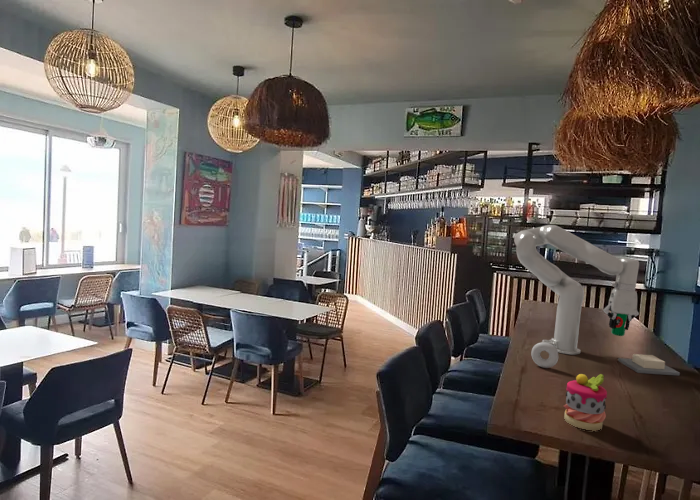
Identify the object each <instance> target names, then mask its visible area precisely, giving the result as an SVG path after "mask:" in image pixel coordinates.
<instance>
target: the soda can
mask: <svg viewBox="0 0 700 500" xmlns="http://www.w3.org/2000/svg"><path fill="white" fill-rule="evenodd" d="M627 316H628V315H627V314H617V315H616V317H615V320H616V324H615V328H614V329H612V328H611V329H610V332H611V334H612V335H613V336H616V337H624V336H625V333H626V330H625V329H626V323H627Z"/></svg>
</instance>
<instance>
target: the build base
mask: <svg viewBox="0 0 700 500" xmlns="http://www.w3.org/2000/svg"><path fill="white" fill-rule="evenodd" d="M617 361H618V362H619V363H620V364H622V365H624V366H626V367H628V368H629V369H631V370H633V371H634V372H636V373H637V374H651V375H667V376H680V374H681V373H680V372H679V371H677V370H676V369H674V368H672V367H670V366H668V365H666V361H664V360H662V359H660V358H658V357H657V356H655V355H653V354H640V353H639V354H638V353H633V354H632V358H623V357H618V358H617Z"/></svg>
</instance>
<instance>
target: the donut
mask: <svg viewBox="0 0 700 500" xmlns="http://www.w3.org/2000/svg"><path fill="white" fill-rule="evenodd" d="M530 352H531V353H530V354H531V358H532V360H533V362H534V363H535V365H537V366H539V367H541V368H545V369H548V368H553V367H554V366H556V364H557V363H558V360H559V357H560V356H559V352H557V350H556V348H555V347H554V346H553V345H551V344H549V343H547V342H542V341H541V342H538V343H536V344H534V345H533V347H532V349H531V351H530ZM542 352H546V353H547V354H548V358H543V357H542V356H541V353H542Z"/></svg>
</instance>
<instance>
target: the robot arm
mask: <svg viewBox="0 0 700 500" xmlns="http://www.w3.org/2000/svg"><path fill="white" fill-rule="evenodd" d="M513 240H514V244H515V246H516V248H515V249H516V250H515V251H516V257H517V259H518V261H519V262H520V264H521V265H522V266H524V268H525V269H527V270H528V271H529V272H530V273H531V274H533V275H534V277H535V276H536V278H537V279H538V280H539V281H540V282H541V283H542V284H544V286H546V287H547V288H548V289H550V290H551V291H552V292H554V293H555V294H556V295H558V302H557V305H556V313H555V314H556V317H555V324H554V325H555V326H554V332H553V333H554V334H553V337H551V339H542V341H541V342H547V343H549V344H551V345H553V346H554V347H555V348H556V350H557V352H558V354H559V353H560V354H563V355H572V356H575V355H580V354H581V349H580V348H578V341H579V332H580V331H579V330H580V321H581V315H582V314H581V312H582V306H583V301H584V299H585V298H584V297H585V290H584V288H583V286H582V284H581V283H580V282H578V281H576V280H575V279H574V278H572V277H570V276H569V275H567V274H566V273H565V272H564V271H562V270H561V269H560V268H559V267H558V266H557V265H555V264H554V263H552V262H550V261H549V260H548V259H547V258H546V257H544V256H543V255H542V254H541V253H539V251H538V249H537V247H539V246H544V245H547V244H549V245H550V246H552V247H554V248H556V249H558V250H560V251H561V252H563V253H565V254H567V255H569V256H571V257H572V258H574V259H577V260H579V261H582V262H584V263H587V264H589V265H591V266H592V267H595V268H596V269H598V271H600V272H602V273H603V274H607V275H608V276H616V277H615V282H614V283H612V284H611V285H612V287H614V288H613V289H612V290H611V293H610V296H609V299H608V305H606V306H605V307H604V308H603V309H602V311H603V312H604V313H605V314H606V315H607V316H608V318H609V323H608V327H609V328H610V329H611V330H612V329H614V328H615V324H616V320H615V317H616V315H617V314H627V315H628V316H627V323H626V329H625V331H628V330H629V328H630V322H632V320H633V319H634V318H636V317H637V316H639V315H640V313H639V311H638V293H637V291H636V286H637V279H638V274H639V268H640V262H639V260H637V259H633V258H626V257H625V258H624V257H623V258H622V257H621V258H620V257H616V256H615V255H613V254H610V253H609V252H607V251H605V250H603V249H602V248H599V247H597V246H596V245H594V244H592V243H591V242H589V241H587V240H585V239H583V238H581V237H579V236H577V235H575V233H571V232H570V231H568V230H566V229H565V228H562V227H560V226H558V225H554V224H545V225H542V226H538V227H533V228H527V229H523V230H520V231H518V232H517V233H516V234H515V236H514V239H513Z"/></svg>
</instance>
